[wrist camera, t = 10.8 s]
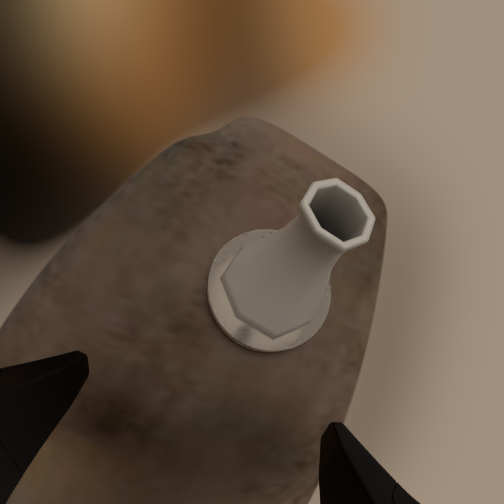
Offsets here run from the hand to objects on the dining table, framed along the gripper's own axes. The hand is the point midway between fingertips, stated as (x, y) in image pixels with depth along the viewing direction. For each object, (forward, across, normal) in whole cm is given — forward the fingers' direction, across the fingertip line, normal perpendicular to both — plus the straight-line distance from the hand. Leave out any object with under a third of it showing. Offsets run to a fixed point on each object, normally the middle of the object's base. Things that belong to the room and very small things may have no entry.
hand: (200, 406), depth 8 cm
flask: (+12, -2, -1) cm, 12 cm away
